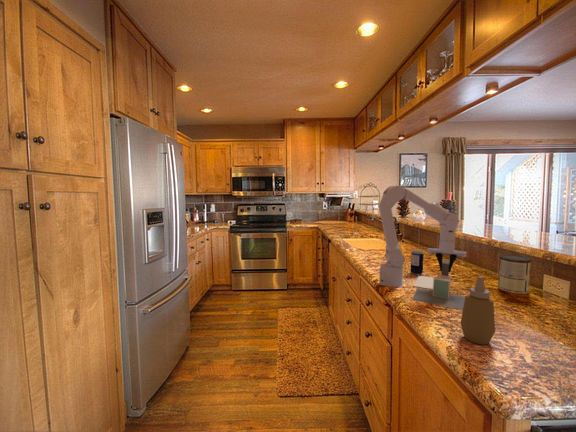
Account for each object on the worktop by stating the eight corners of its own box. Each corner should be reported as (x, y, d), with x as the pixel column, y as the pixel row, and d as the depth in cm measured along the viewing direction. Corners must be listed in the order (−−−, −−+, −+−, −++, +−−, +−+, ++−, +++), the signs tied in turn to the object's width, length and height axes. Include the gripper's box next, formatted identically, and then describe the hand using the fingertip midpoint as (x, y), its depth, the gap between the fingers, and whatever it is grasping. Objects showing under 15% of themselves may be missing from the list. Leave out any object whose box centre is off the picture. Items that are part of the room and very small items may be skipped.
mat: (411, 301, 105) (411, 299, 105) (417, 289, 117) (417, 288, 117) (471, 313, 95) (471, 311, 95) (471, 299, 107) (471, 297, 107)
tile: (432, 295, 109) (433, 278, 108) (433, 294, 110) (433, 277, 109) (448, 298, 106) (449, 281, 105) (448, 297, 107) (449, 279, 106)
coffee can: (493, 284, 124) (495, 253, 123) (521, 287, 121) (524, 255, 120) (503, 292, 115) (505, 259, 113) (533, 295, 111) (536, 261, 110)
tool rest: (413, 287, 119) (413, 285, 119) (418, 277, 134) (418, 275, 134) (433, 291, 115) (433, 289, 115) (437, 280, 129) (437, 278, 129)
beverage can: (424, 275, 137) (425, 252, 136) (411, 275, 138) (412, 251, 137) (420, 272, 142) (422, 249, 141) (409, 271, 143) (410, 249, 142)
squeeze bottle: (453, 332, 81) (456, 273, 80) (478, 331, 82) (482, 272, 81) (473, 348, 73) (478, 282, 72) (502, 346, 74) (506, 281, 73)
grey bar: (436, 280, 114) (437, 266, 114) (439, 271, 127) (440, 258, 126) (450, 282, 112) (451, 268, 111) (452, 273, 124) (453, 260, 124)
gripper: (467, 240, 118) (465, 271, 120) (429, 237, 126) (428, 266, 127) (467, 243, 112) (465, 275, 114) (427, 239, 120) (426, 269, 122)
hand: (445, 271), depth 120 cm, fingers closed on grey bar, 2 cm apart
